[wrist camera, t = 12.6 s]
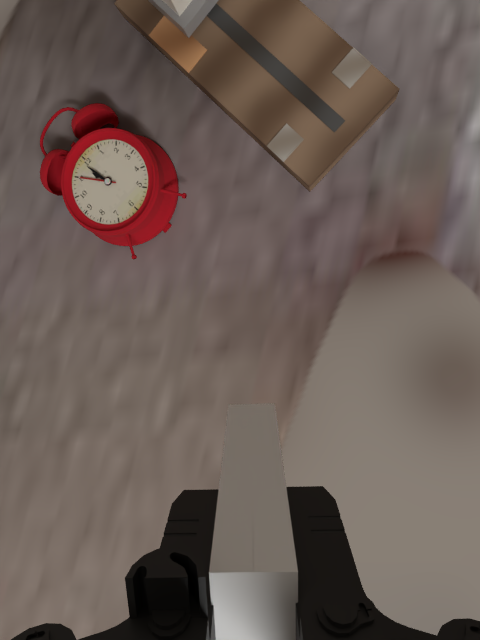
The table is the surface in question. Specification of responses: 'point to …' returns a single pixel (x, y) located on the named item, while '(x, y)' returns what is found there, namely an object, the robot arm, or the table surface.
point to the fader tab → (185, 12)
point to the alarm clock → (112, 179)
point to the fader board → (276, 77)
